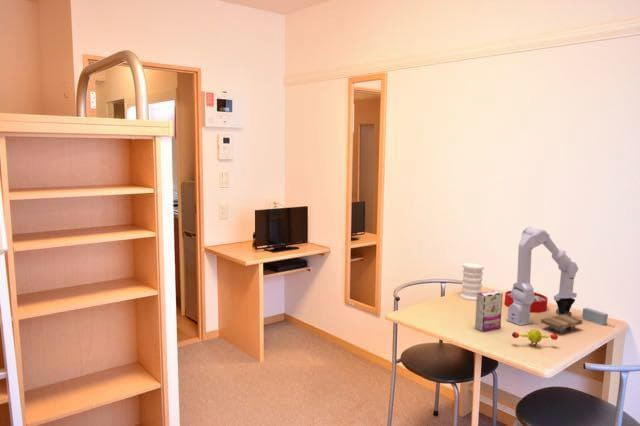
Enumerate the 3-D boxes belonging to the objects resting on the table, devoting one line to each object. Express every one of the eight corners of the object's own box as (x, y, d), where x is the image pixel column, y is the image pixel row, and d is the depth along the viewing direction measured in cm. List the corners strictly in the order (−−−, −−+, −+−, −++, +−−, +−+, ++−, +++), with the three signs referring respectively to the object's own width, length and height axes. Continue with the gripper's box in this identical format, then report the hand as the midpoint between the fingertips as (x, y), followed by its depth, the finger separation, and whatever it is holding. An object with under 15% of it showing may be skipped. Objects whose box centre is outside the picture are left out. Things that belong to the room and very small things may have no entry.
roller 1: (567, 318, 223) (567, 312, 223) (555, 314, 229) (556, 308, 228) (571, 317, 225) (571, 311, 224) (559, 313, 230) (560, 307, 230)
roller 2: (560, 333, 207) (561, 326, 207) (548, 328, 212) (549, 322, 212) (565, 332, 208) (565, 325, 208) (552, 327, 214) (553, 321, 213)
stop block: (602, 325, 219) (604, 315, 218) (582, 318, 228) (583, 308, 227) (606, 324, 220) (607, 314, 220) (585, 317, 229) (586, 307, 228)
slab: (559, 329, 204) (559, 325, 204) (541, 322, 211) (541, 319, 211) (582, 323, 211) (582, 320, 211) (563, 317, 219) (563, 314, 219)
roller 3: (570, 331, 210) (571, 324, 210) (558, 326, 216) (558, 320, 215) (574, 330, 212) (575, 323, 212) (562, 325, 217) (563, 319, 217)
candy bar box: (491, 324, 215) (494, 289, 213) (500, 328, 211) (503, 292, 209) (473, 328, 210) (476, 292, 208) (482, 332, 206) (485, 295, 204)
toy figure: (553, 344, 195) (554, 328, 194) (559, 349, 189) (560, 333, 188) (508, 342, 195) (510, 326, 194) (513, 347, 190) (515, 331, 189)
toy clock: (519, 288, 258) (555, 297, 241) (518, 298, 258) (554, 309, 242) (497, 293, 246) (533, 304, 230) (496, 304, 247) (532, 315, 231)
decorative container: (459, 293, 263) (461, 262, 261) (481, 295, 260) (483, 263, 258) (460, 299, 252) (462, 266, 250) (482, 302, 249) (485, 268, 247)
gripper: (564, 289, 218) (561, 317, 220) (583, 286, 225) (580, 313, 227) (550, 285, 224) (548, 313, 226) (569, 282, 231) (567, 309, 233)
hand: (563, 313), depth 227 cm, fingers closed on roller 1, 3 cm apart
